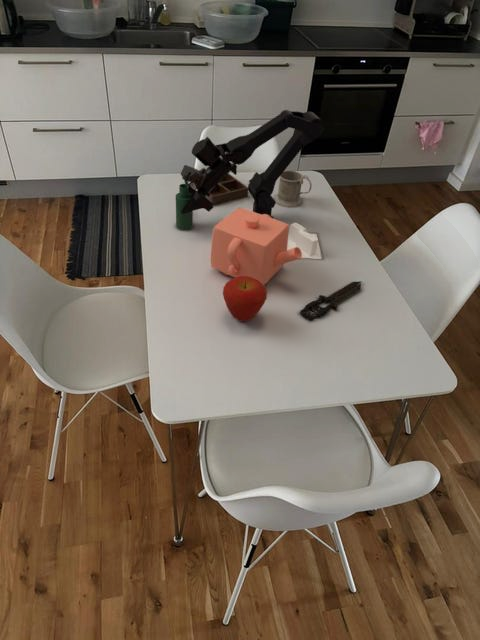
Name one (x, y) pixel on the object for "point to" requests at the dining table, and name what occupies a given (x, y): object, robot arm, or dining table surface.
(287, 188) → the mug
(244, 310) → the apple
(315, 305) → the knife
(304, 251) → the napkin holder
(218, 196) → the tray
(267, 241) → the teapot
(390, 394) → the dining table surface
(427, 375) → the dining table surface
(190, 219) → the bottle
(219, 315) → the dining table surface
